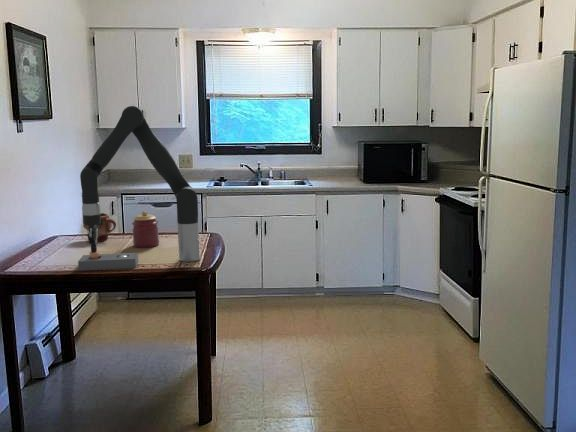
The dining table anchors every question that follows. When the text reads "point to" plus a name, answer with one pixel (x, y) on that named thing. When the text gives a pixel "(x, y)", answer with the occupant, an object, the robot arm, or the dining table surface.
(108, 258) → the button panel
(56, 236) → the dining table surface
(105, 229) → the brown ceramic mug
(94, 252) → the terracotta button
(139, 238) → the canister
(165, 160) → the robot arm
